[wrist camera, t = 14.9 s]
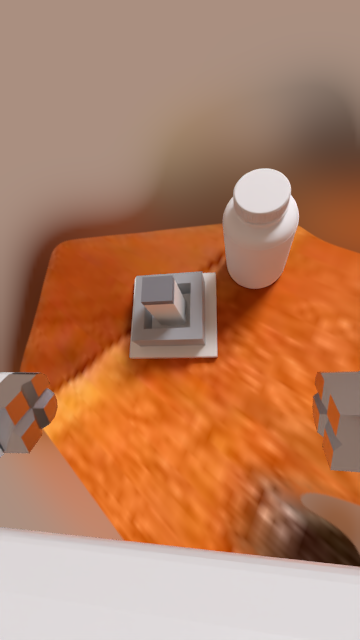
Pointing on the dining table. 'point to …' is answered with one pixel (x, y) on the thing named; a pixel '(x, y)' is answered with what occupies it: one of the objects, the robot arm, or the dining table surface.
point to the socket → (182, 338)
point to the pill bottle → (259, 228)
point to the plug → (164, 299)
